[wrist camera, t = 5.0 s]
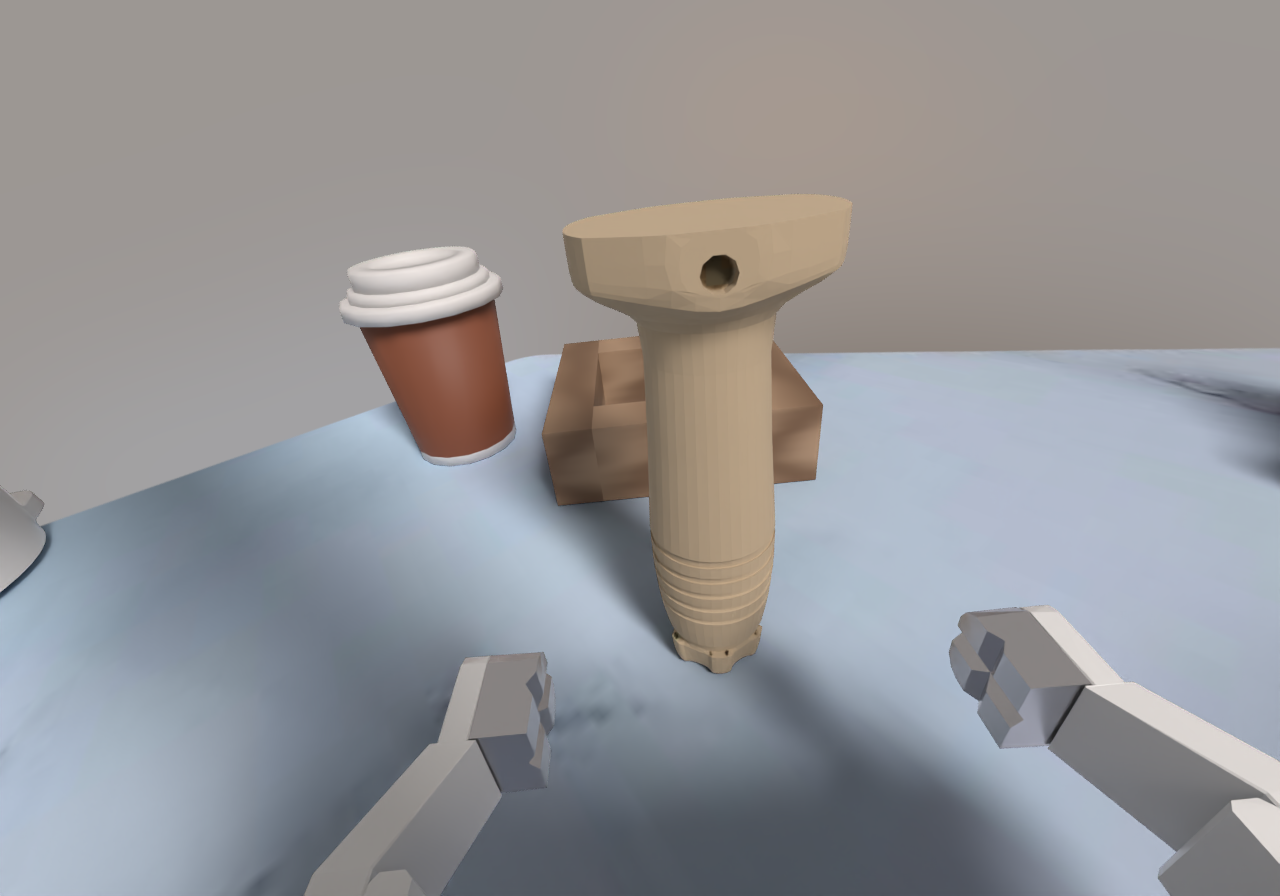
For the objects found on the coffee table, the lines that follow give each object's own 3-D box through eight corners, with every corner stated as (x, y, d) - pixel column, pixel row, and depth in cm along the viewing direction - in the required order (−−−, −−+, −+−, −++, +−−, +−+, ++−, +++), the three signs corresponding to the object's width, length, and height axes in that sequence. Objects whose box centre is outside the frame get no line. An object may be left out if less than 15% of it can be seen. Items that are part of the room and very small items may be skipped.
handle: (630, 598, 22) (571, 215, 14) (782, 585, 21) (809, 188, 14) (632, 707, 17) (550, 248, 10) (820, 691, 17) (890, 211, 10)
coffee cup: (549, 406, 38) (513, 237, 32) (513, 476, 31) (456, 271, 24) (435, 412, 39) (379, 249, 33) (373, 480, 32) (284, 285, 26)
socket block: (558, 505, 28) (541, 434, 25) (574, 400, 39) (564, 344, 36) (815, 479, 27) (823, 405, 25) (758, 381, 39) (759, 323, 36)
